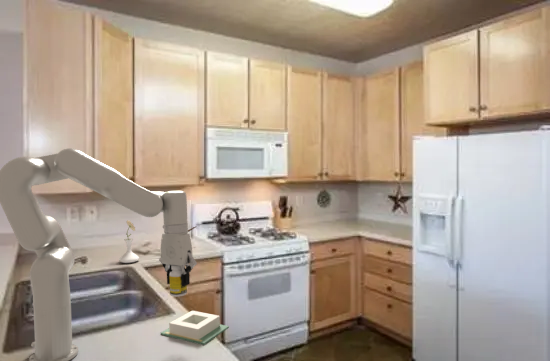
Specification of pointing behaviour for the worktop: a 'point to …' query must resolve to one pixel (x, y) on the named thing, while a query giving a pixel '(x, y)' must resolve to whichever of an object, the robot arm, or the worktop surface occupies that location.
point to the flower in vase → (129, 248)
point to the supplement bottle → (176, 282)
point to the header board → (195, 327)
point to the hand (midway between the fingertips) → (178, 283)
